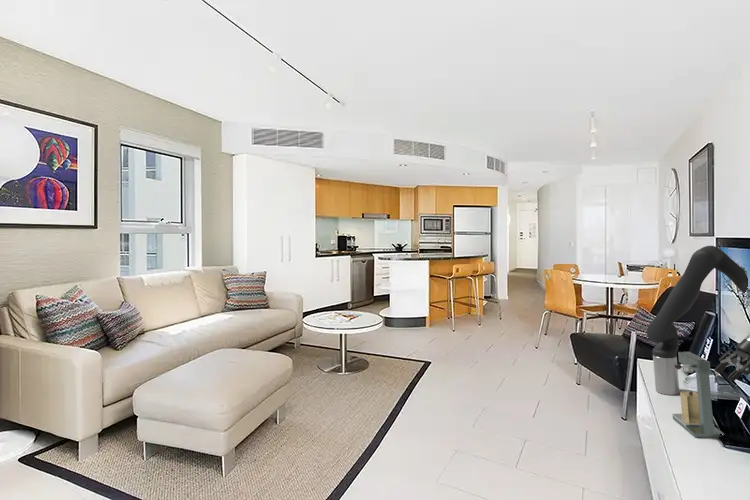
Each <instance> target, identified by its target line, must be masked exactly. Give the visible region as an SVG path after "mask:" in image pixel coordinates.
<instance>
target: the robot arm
mask: <svg viewBox="0 0 750 500" xmlns="http://www.w3.org/2000/svg"><path fill="white" fill-rule="evenodd" d="M713 270H717V271H719V272H721V273H722V274H724V276H725V277H727V278H728V279H730V280H731V282H732V283H733V284H734V286H736V288H737V289H738V290H739V291H740V292H741V293H742V294H744V293H745V292H746V290H747V289H748V288H747V287H748V278H747V276H746V274H745V271H746V270H745V269H744V268H742V267H741V266H740V265H739V264H738V263H736V262H735V260H733V259H732V258H731V257H730V256H729V255H728V254H727V253H725V251H724V250H722V249H721V248H719V247H717V246H715V245H706V246H703V247H701V248H699V249H697V250H696V251H695V252H693V254H692V255H691V256H690V259H689V261H688V264H687V267H686V268H685V270H684V273H683V274H682V275H681V277H680V278H679V280H678V281H677V282H676V284H675V285H674V287H673V288H672V290H671V291H670V293H669V294H668V297H667V298H666V299H665V302H664V303H663V305H662V306H661V308H660V310H659V311H658V313H657V314H656V315H655V317H653V319H652V321H650V323H649V324H648V326H647V328H646V335H647V338H648V339H649V341H651V342H653V343H657V344H656V345H655V347H653V349H652V361H653V371H654V373H653V374H654V386H655V392H657V393H658V392H659V394H661V393H662V394H663V395H668V396H676V395H679V394H680V384H679V383H680V382H679V369H676V368H675V367H674V365H675V364H676V363H678V359H677V358H678V357H677V353H678V352H679V334H678V330H677V327H676V326H675V324H674V323H675V322H676V321H677V320H679V318H681V317H682V316H684V315H685V314H686V313H687V312H688V311H689V310H691V308H692V306H693V305H694V304H695V302H696V301H697V299H698V298H699V295H700V292H701V287H702V284H703V283H704V281H705V279H706V278H707V277H708V276H709V274H710V273H711V272H712V271H713ZM744 270H745V271H744ZM736 349H737V350H736V351H733V350H732V349H728V351H726V352H725V353H724V354H723V355H722V356H720V357H719V359H718V361H719V362H720V363H719V364H718V365H717V366H716V367H715V368H714V372H716V373H717V374H721V373H723V372H724V371H725V369H727V367H730V366H736V368H735V369H734V370H733V371H731V373H730V374H729V375H727V378H728V379H729V380H730V381H731V382H735V381H736V380H737V379H738V378H739V377H741V376H742V375H743V376H744V375H746V376H748V375H750V335H749V334H747V335H746V336H745V337H744V339H743V340H741V341H740V342H739V343H738V344H737V345H736ZM662 394H661V395H662Z"/></svg>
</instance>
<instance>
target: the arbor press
mask: <svg viewBox="0 0 750 500" xmlns="http://www.w3.org/2000/svg"><path fill="white" fill-rule="evenodd" d="M677 353H678V354H677V355H678V357H677V358H678V362H677V363H676V364H675V365H674V367H675V368H676V369H678V370H681V369H683V372H685V373H688V374H689V373H690V374H691V373H694V372H695V374H696V375H695V376H696V377H695V378H696V388H697V394H698V403H699V415H700V422H689V421H687V420H686V419H685V418H684V417H682V413H672V419H673V420H674V421H675V423H677V424H678V425H679V426H680V427H681V428H683V429H684V430H685V431H686V432H688V433H689V435H691V436H693V437H694V438H695V439H696V438H697V439H698V438H704V439H705V438H708V439H713V438H714V439H715V438H716V439H720V438H719V435H720V434H724V435H725V433H724V432H723V431H721V430H720V429H719V428H718V427H716V426H715V424H714V417H713V406H712V393H711V383H710V382H711V380H710V374H711V362H710V361H709V360H707V359H705V358H703V357H700V356H699V355H697V354H696V353H695V354H694V353H693V352H691V351H677Z"/></svg>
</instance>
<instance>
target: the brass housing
mask: <svg viewBox="0 0 750 500" xmlns="http://www.w3.org/2000/svg"><path fill="white" fill-rule="evenodd" d="M679 394H680V395H679V396H680V405H681V414H682V417H684V418H685V419H686V420H687V421H689V422H700V415H699V403H698V392H696V391H694V390H693V391H692V390H688V391H679Z"/></svg>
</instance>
